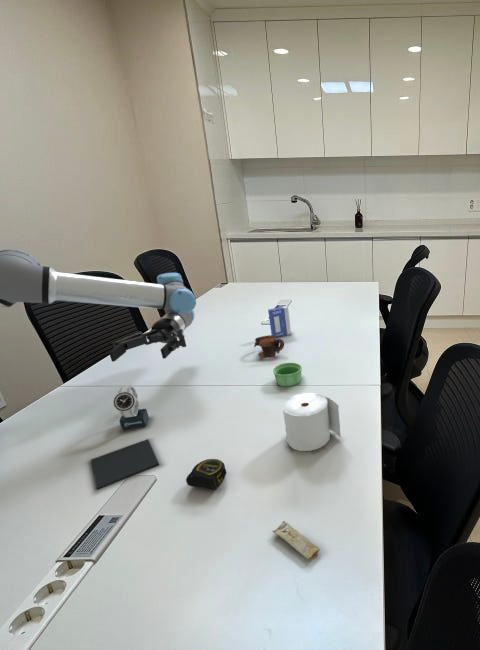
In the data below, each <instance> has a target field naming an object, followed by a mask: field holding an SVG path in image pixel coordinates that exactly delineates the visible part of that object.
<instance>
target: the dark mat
mask: <svg viewBox="0 0 480 650" xmlns="http://www.w3.org/2000/svg"><path fill="white" fill-rule="evenodd" d="M90 461H91V465H92V470H93V475H94V479H95V485H96V489H97V490H99V489H102V488H104V487H107V486H109V485H113V484H115V483H117V482H119V481H122V480H125V479H127V478H129V477H132V476H134V475H137V474H139V473H142V472H144V471H147V470H149V469H151V468H155V467H156V466H159V465H160V462H159V460H158V458H157V456H156V454H155V452H154V449H153V447H152V445H151V442H150V440H149V439H148V438H146V439H144V440H141V441H139V442H136V443H133V444H130V445H127V446H125V447H122V448H118V449H117V450H114V451H110V452H108V453H105V454H102V455H99V456H97V457H94V458H92V459H90Z"/></svg>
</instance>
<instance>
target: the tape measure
mask: <svg viewBox="0 0 480 650" xmlns="http://www.w3.org/2000/svg"><path fill="white" fill-rule="evenodd" d="M227 474H228V471H227V469H226V465H225V463H224V462H223V461H222V460H220V459H218V458H207V459H203V460H202V461H200V462H198V463H196V465H194V467H193V468H192V469H191V472H189V474H187V476H186V478H185V482H186V485H188V486H190V487H192V488H193V487H194V488H201V489H205V490H206V489H207V490H209V491H216V490H217V489H218V488H219V485H220V484H221V483H222V482H224V480H225V479H226V475H227Z"/></svg>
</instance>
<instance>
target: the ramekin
mask: <svg viewBox="0 0 480 650" xmlns="http://www.w3.org/2000/svg"><path fill="white" fill-rule="evenodd" d="M302 369H303V367H302V365H301V364H300V363H297V362H283V363H280V364H278V365H276V366H274V367H273V369H272V372H273V375H274V379H275V383H276V384H277V385H278V386H281V387H292V386H295V385H298V384H299V383H300V382H301V380H302Z"/></svg>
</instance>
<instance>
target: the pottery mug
mask: <svg viewBox="0 0 480 650" xmlns="http://www.w3.org/2000/svg"><path fill="white" fill-rule="evenodd" d="M256 347H260V348H261V350H262V351H261V352H258V356H259V360H262V359H267V358H276V354H279V353H280V352H281V351H282V350H283V349H284V347H285V341H284V339H282V338H275V336H273V335H272V334H271V335H270V334H269V335H268V334H267V335H263V336H258V337H256V338H255V342H254V345H253V348H256Z"/></svg>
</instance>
